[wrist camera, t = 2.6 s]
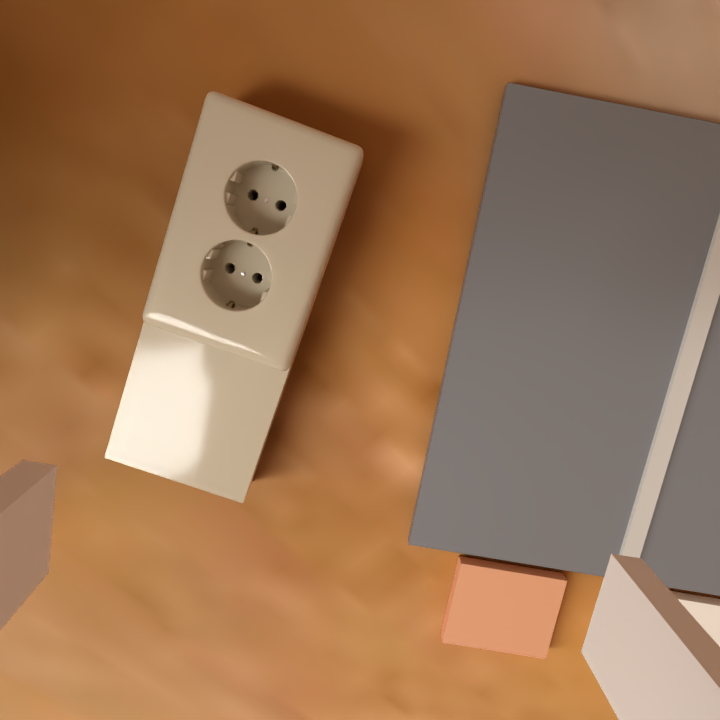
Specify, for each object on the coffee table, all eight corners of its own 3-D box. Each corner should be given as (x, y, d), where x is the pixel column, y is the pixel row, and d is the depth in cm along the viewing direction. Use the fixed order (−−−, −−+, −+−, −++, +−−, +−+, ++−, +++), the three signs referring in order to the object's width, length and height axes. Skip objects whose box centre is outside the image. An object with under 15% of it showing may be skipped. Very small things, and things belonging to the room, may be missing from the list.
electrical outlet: (96, 464, 29) (205, 85, 25) (128, 436, 33) (226, 105, 29) (239, 511, 29) (365, 146, 26) (253, 478, 33) (364, 158, 30)
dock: (389, 625, 35) (390, 635, 34) (505, 85, 29) (509, 80, 28) (787, 688, 36) (798, 700, 35) (980, 178, 30) (999, 176, 29)
